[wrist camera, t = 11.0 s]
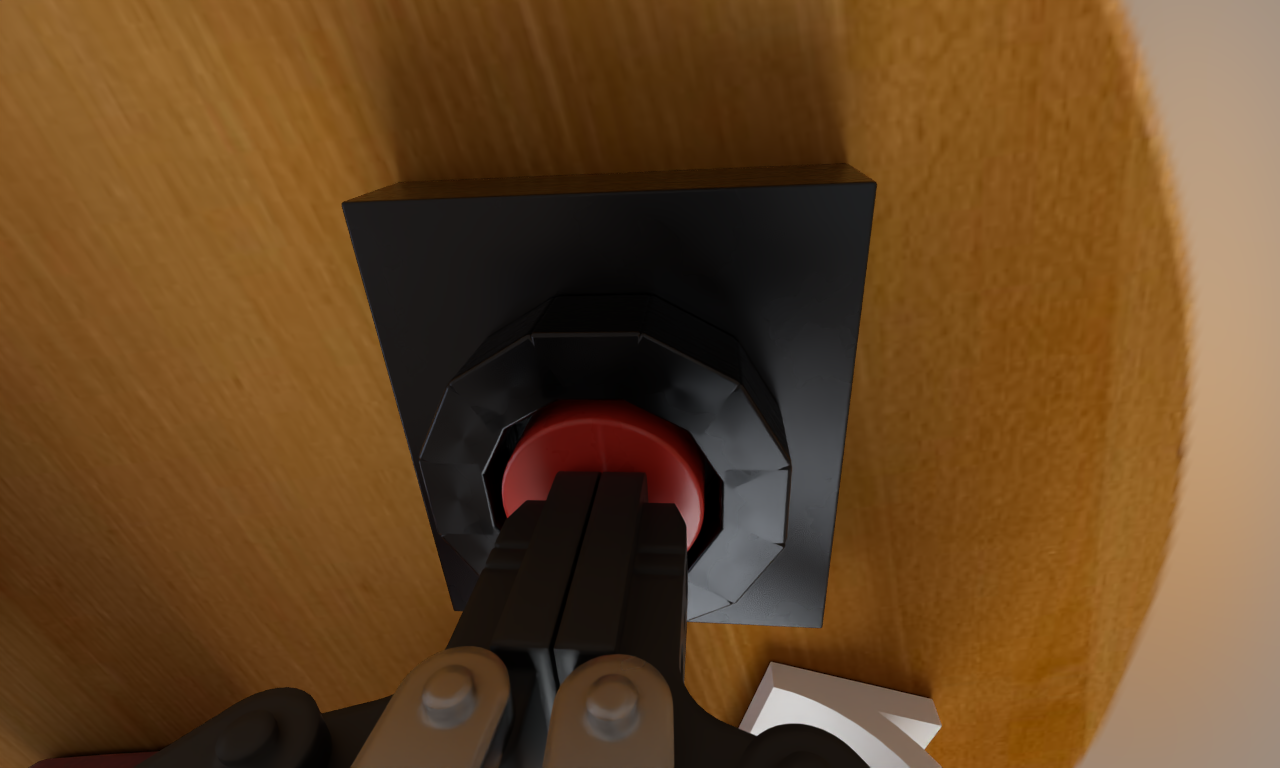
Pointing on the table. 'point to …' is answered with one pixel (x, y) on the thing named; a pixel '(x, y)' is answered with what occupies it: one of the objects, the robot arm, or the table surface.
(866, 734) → the headphone stand
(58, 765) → the plant pot
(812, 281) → the button block
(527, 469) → the button
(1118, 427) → the table surface
